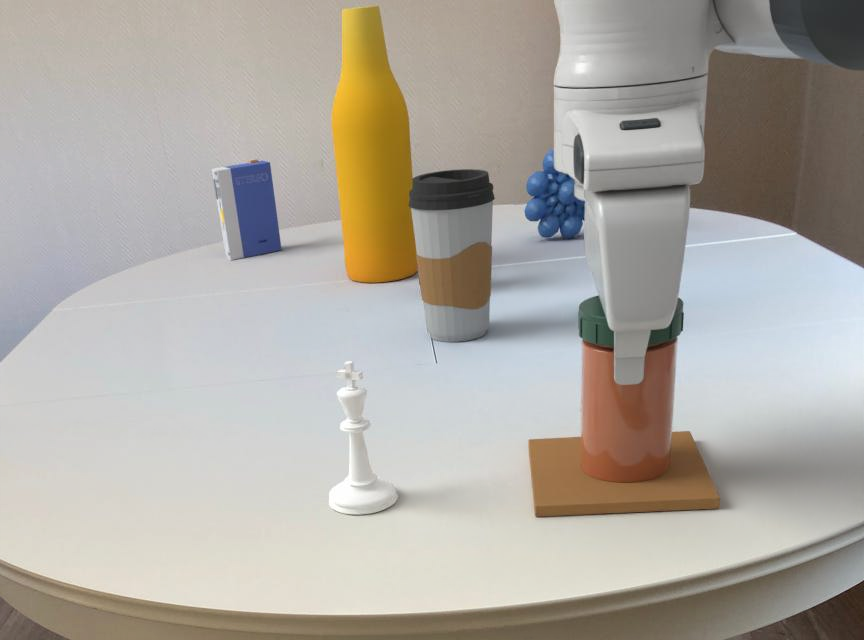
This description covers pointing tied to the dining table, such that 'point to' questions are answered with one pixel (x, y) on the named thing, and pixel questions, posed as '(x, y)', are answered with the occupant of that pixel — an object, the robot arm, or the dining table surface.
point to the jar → (627, 415)
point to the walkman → (247, 209)
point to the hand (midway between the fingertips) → (620, 360)
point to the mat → (582, 494)
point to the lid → (598, 331)
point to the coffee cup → (454, 251)
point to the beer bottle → (372, 155)
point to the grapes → (554, 201)
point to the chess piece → (358, 456)
